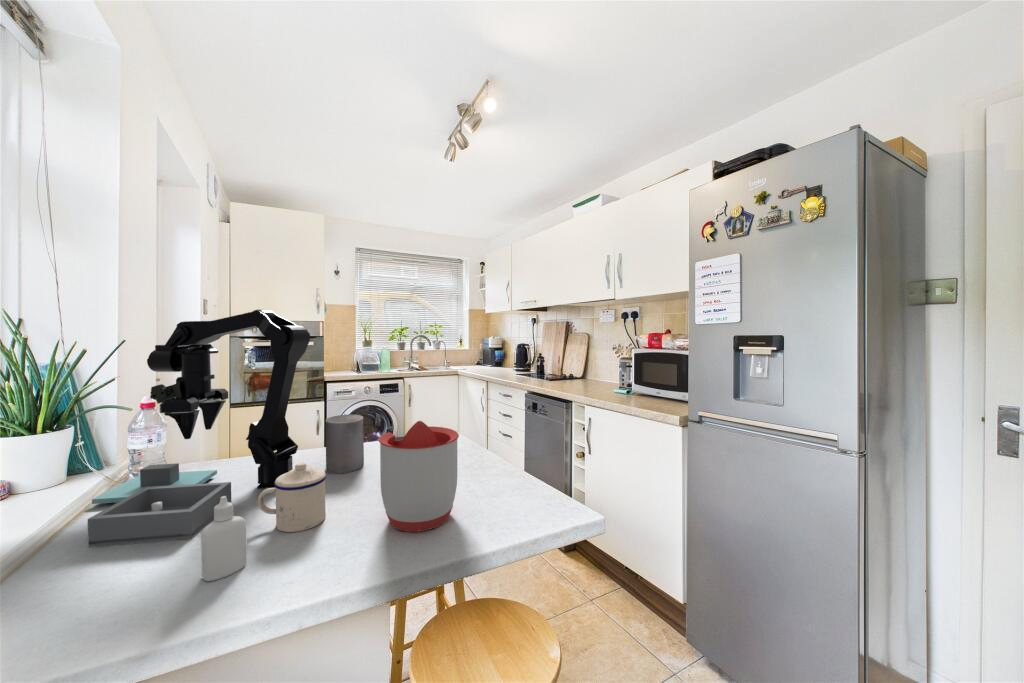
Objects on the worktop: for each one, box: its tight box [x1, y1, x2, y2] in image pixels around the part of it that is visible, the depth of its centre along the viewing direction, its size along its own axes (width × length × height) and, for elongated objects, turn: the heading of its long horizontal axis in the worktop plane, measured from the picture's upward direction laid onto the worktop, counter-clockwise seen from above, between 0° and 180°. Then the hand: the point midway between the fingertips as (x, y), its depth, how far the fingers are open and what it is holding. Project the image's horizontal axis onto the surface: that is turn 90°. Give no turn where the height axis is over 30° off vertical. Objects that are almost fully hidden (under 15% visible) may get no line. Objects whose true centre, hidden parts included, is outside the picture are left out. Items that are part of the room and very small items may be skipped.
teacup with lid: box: [257, 462, 327, 533], centre depth 78 cm, size 12×9×12 cm
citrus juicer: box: [378, 420, 460, 533], centre depth 80 cm, size 16×17×20 cm
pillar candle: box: [325, 413, 365, 474], centre depth 108 cm, size 10×10×15 cm
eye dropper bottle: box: [200, 496, 248, 582], centre depth 62 cm, size 4×6×12 cm
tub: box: [87, 481, 232, 548], centre depth 77 cm, size 16×14×5 cm
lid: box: [91, 463, 218, 505], centre depth 92 cm, size 17×15×6 cm
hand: (198, 434), depth 99 cm, fingers open, 9 cm apart
